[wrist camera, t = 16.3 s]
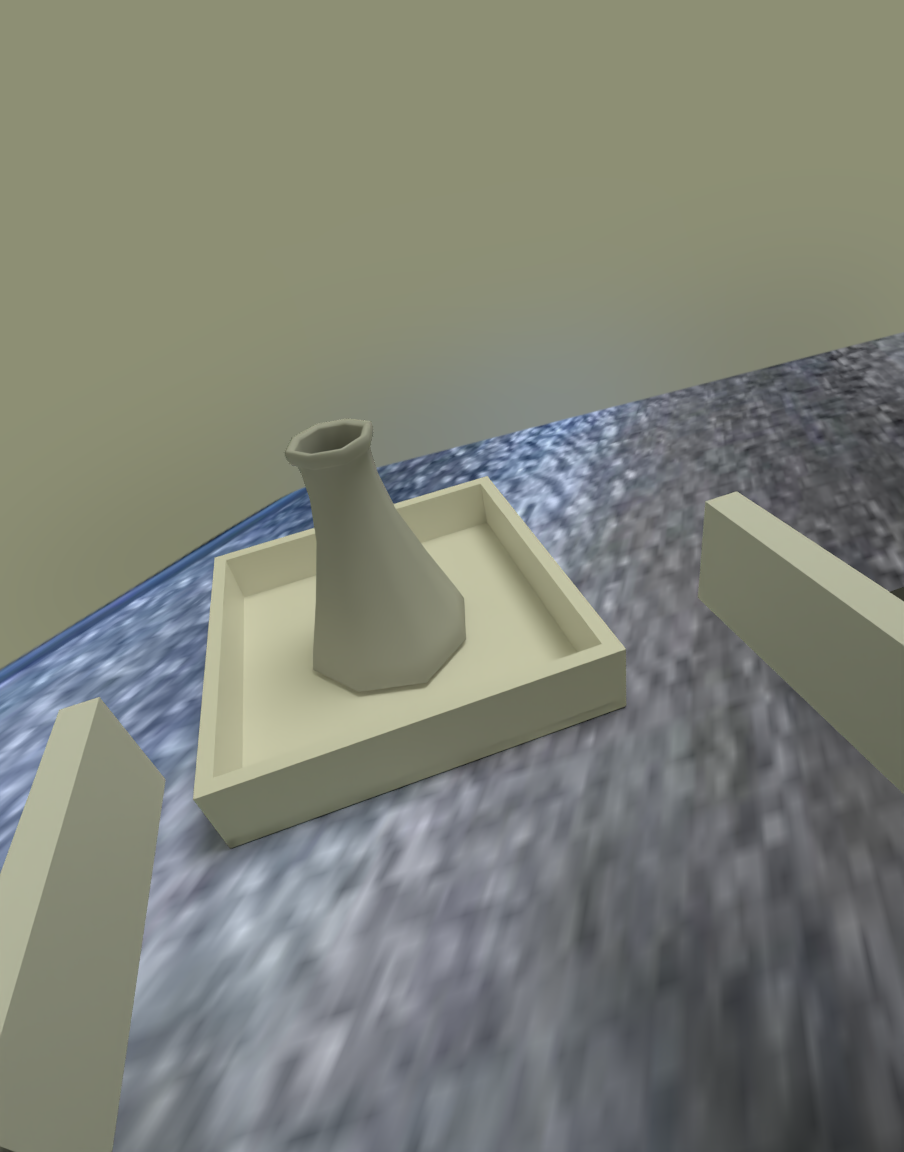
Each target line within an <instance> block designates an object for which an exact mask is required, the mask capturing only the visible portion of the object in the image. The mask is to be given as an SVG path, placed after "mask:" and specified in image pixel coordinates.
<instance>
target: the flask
mask: <svg viewBox="0 0 904 1152" xmlns="http://www.w3.org/2000/svg"><path fill="white" fill-rule="evenodd" d="M372 436H373V426H372V423H371V421H364V420H356V419H349V418H346V419H341V420H335V421H330V422H324V423H319V424H315V425H313V426H312V427H310V428H308V429H306V430H305V431H303V432H301V433H299V434H298V435H296V436H294V437H293V438H291V440H290V442H289V444H288V446H287V448H286V450H285V456H286V459H287V460H288V462H289V463H290V464H291V465H292V466H296V467H298V469H299V471H300V473H301V475H302V477H303V480H304V483H305V486H306V489H307V492H308V495H309V498H310V503H311V509H312V516H313V522H314V528H315V535H316V541H317V544H316V607H315V626H314V644H313V670H315V671H317V672H319V673H321V674H323V675H325V676H327V677H329V678H331V679H333V680H336V681H338V682H340V683H342V684H344V685H346V686H348V687H350V688H352V689H354V690H356V691H358V692H361V691H369V690H376V689H383V688H391V687H398V686H406V685H413V684H421V683H427V682H428V680H429V679H430V678H431V677H432V676H433V675H434V674H435V673H436V672H437V670H438V669H439V668H440V667H441V666H442V665H443V664H444V663H445V662H446V661H447V659H448V658H449V657H450V656H451V655H452V654H453V653H454V652H455V651H456V650H457V648H458V647H459V646H460V645H461V644H462V643H463V642H464V641H465V640H466V627H465V605H464V597H463V596H462V595H461V593H460V592H459V591H458V589H457V588H456V587H455V585H454V584H453V583H452V582H451V580H450V579H449V578H448V577H447V575H446V574H445V573H444V572H443V570H442V569H441V568H440V567H439V566H438V564H437V563H436V562H435V561H434V559H433V558H432V557H431V556H430V554H429V553H428V552H427V551H426V549H425V548H424V547H423V545H422V544H421V543H420V541H419V540H418V538H417V537H416V536H415V534H414V533H413V532H412V530H411V529H410V528H409V526H408V525H407V524H406V522H405V521H404V520H403V518H402V517H401V515H400V514H399V513H398V511H397V510H396V508H395V506H394V504H393V502H392V500H391V498H390V496H389V494H388V492H387V491H386V489H385V487H384V485H383V483H382V481H381V479H380V477H379V475H378V472H377V469H376V466H375V462H374V459H373V456H372V452H371V449H370V445H371V440H372Z"/></svg>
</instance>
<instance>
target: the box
mask: <svg viewBox="0 0 904 1152" xmlns="http://www.w3.org/2000/svg"><path fill="white" fill-rule="evenodd" d="M394 506H395V508H396V510H397V511H398V513H399V514H400V515H401V517H402V518H403V520H404V521H405V522H406V524H407V525H408V526H409V528H410V529H411V530H412V532H413V533H414V534H415V536H416V537H417V538H418V540H419V541H420V543H421V544H422V545H423V547H424V548H425V549H426V551H427V552H428V553H429V554H430V556H431V557H432V558H433V559H434V561H435V562H436V563H437V564H438V566H439V567H440V568H441V569H442V570H443V572H444V573H445V574H446V575H447V577H448V578H449V579H450V580H451V582H452V583H453V584H454V585H455V587H456V588H457V589H458V591H459V592H460V593H461V595H462V596H463V597H464V605H465V627H466V640H465V641H464V642H463V643H462V644H461V645H460V646H459V647H458V648H457V650H456V651H455V652H454V653H453V654H452V655H451V656H450V657H449V658H448V659H447V661H446V662H445V663H444V664H443V665H442V666H441V667H440V668H439V669H438V670H437V672H436V673H435V674H434V675H433V676H432V677H431V678H430V679H429V680H428V682H427V683H421V684H413V685H406V686H398V687H391V688H383V689H376V690H369V691H361V692H358V691H356V690H354V689H352V688H350V687H348V686H346V685H344V684H342V683H340V682H338V681H336V680H333V679H331V678H329V677H327V676H325V675H323V674H321V673H319V672H317V671H315V670H313V644H314V626H315V607H316V544H317V541H316V535H315V528H313V529H309V530H306V531H303V532H299V533H296V534H293V535H289V536H286V537H283V538H279V539H276V540H273V541H269V542H266V543H263V544H259V545H256V546H253V547H249V548H246V549H243V550H239V551H236V552H233V553H229V554H226V555H222V556H219V557H216V558H215V562H214V573H213V584H212V595H211V606H210V618H209V629H208V640H207V651H206V662H205V673H204V685H203V696H202V707H201V718H200V729H199V740H198V752H197V763H196V774H195V785H194V796H193V800H194V801H195V803H196V804H197V805H198V806H199V808H200V809H201V810H202V812H203V813H204V814H205V816H206V817H207V818H208V820H209V821H210V822H211V824H212V825H213V826H214V828H215V829H216V830H217V832H218V833H219V834H220V836H221V837H222V838H223V840H224V841H225V842H226V844H227V845H228V846H229V848H233V847H236V846H239V845H241V844H244V843H247V842H250V841H252V840H255V839H258V838H261V837H264V836H266V835H269V834H272V833H275V832H278V831H280V830H283V829H286V828H289V827H291V826H294V825H297V824H300V823H303V822H305V821H308V820H311V819H314V818H316V817H319V816H322V815H325V814H328V813H330V812H333V811H336V810H339V809H341V808H344V807H347V806H350V805H353V804H355V803H358V802H361V801H364V800H366V799H369V798H372V797H375V796H378V795H380V794H383V793H386V792H389V791H391V790H394V789H397V788H400V787H403V786H405V785H408V784H411V783H414V782H416V781H419V780H422V779H425V778H428V777H430V776H433V775H436V774H439V773H441V772H444V771H447V770H450V769H453V768H455V767H458V766H461V765H464V764H466V763H469V762H472V761H475V760H478V759H480V758H483V757H486V756H489V755H491V754H494V753H497V752H500V751H503V750H505V749H508V748H511V747H514V746H516V745H519V744H522V743H525V742H528V741H530V740H533V739H536V738H539V737H541V736H544V735H547V734H550V733H553V732H555V731H558V730H561V729H564V728H566V727H569V726H572V725H575V724H578V723H580V722H583V721H586V720H589V719H591V718H594V717H597V716H600V715H603V714H605V713H608V712H611V711H614V710H616V709H619V708H622V707H625V706H626V649H625V648H624V646H623V645H622V644H621V643H620V641H619V640H618V639H617V638H616V636H615V635H614V634H613V633H612V631H611V630H610V629H609V628H608V626H607V625H606V624H605V623H604V621H603V620H602V619H601V618H600V616H599V615H598V614H597V613H596V611H595V610H594V609H593V608H592V606H591V605H590V604H589V603H588V601H587V600H586V599H585V598H584V596H583V595H582V594H581V593H580V591H579V590H578V589H577V588H576V586H575V585H574V584H573V583H572V581H571V580H570V579H569V578H568V576H567V575H566V574H565V573H564V571H563V570H562V569H561V568H560V566H559V565H558V564H557V563H556V561H555V560H554V559H553V558H552V556H551V555H550V554H549V553H548V551H547V550H546V549H545V548H544V546H543V545H542V544H541V543H540V541H539V540H538V539H537V538H536V536H535V535H534V534H533V533H532V531H531V530H530V529H529V528H528V526H527V525H526V524H525V523H524V521H523V520H522V519H521V518H520V516H519V515H518V514H517V513H516V511H515V510H514V509H513V508H512V506H511V505H510V504H509V503H508V501H507V500H506V499H505V498H504V497H503V495H502V494H501V493H500V492H499V490H498V489H497V488H496V487H495V485H494V484H493V483H492V482H491V480H490V479H489V478H488V477H487V476H486V477H483V478H480V479H476V480H473V481H470V482H466V483H463V484H460V485H456V486H453V487H450V488H446V489H443V490H440V491H436V492H433V493H430V494H426V495H423V496H420V497H416V498H413V499H410V500H406V501H403V502H399V503H396V504H394Z"/></svg>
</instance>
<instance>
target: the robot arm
mask: <svg viewBox="0 0 904 1152" xmlns="http://www.w3.org/2000/svg"><path fill="white" fill-rule="evenodd" d="M698 598H699V599H700V600H701V601H702V602H703V603H704V604H705V605H706V606H707V607H708V608H709V609H710V610H711V611H712V612H713V613H714V614H715V615H717V616H718V617H719V618H720V619H721V620H722V621H723V622H724V623H725V624H726V625H727V626H728V627H729V628H730V629H731V630H732V631H733V632H734V633H735V634H736V635H737V636H739V637H740V638H741V639H742V640H743V641H744V642H745V643H746V644H747V645H748V646H749V647H750V648H751V649H752V650H753V651H754V652H755V653H756V654H757V655H758V656H759V657H761V658H762V659H763V660H764V661H765V662H766V663H767V664H768V665H769V666H770V667H771V668H772V669H773V670H774V671H775V672H776V673H777V674H778V675H779V676H780V677H781V678H783V679H784V680H785V681H786V682H787V683H788V684H789V685H790V686H791V687H792V688H793V689H794V690H795V691H796V692H797V693H798V694H799V695H800V696H801V697H802V698H803V699H805V700H806V701H807V702H808V703H809V704H810V705H811V706H812V707H813V708H814V709H815V710H816V711H817V712H818V713H819V714H820V715H821V716H822V717H823V718H824V719H825V720H827V721H828V722H829V723H830V724H831V725H832V726H833V727H834V728H835V729H836V730H837V731H838V732H839V733H840V734H841V735H842V736H843V737H844V738H845V739H846V740H847V741H849V742H850V743H851V744H852V745H853V746H854V747H855V748H856V749H857V750H858V751H859V752H860V753H861V754H862V755H863V756H864V757H865V758H866V759H867V760H868V761H869V762H871V763H872V764H873V765H874V766H875V767H876V768H877V769H878V770H879V771H880V772H881V773H882V774H883V775H884V776H885V777H886V778H887V779H888V780H889V781H890V782H891V783H892V784H894V785H895V786H896V787H897V788H898V789H899V790H900V791H901V792H902V793H903V794H904V587H902V588H899V589H897V590H894V591H891V592H889V591H887V590H886V589H884V588H882V587H881V586H879V585H878V584H876V583H875V582H873V581H872V580H870V579H869V578H867V577H866V576H864V575H863V574H861V573H860V572H858V571H857V570H855V569H854V568H852V567H851V566H849V565H848V564H846V563H845V562H843V561H841V560H840V559H838V558H837V557H835V556H834V555H832V554H831V553H829V552H828V551H826V550H825V549H823V548H822V547H820V546H819V545H817V544H816V543H814V542H813V541H811V540H810V539H808V538H807V537H805V536H804V535H802V534H801V533H799V532H797V531H796V530H794V529H793V528H791V527H790V526H788V525H787V524H785V523H784V522H782V521H781V520H779V519H778V518H776V517H775V516H773V515H772V514H770V513H769V512H767V511H766V510H764V509H763V508H761V507H760V506H758V505H756V504H755V503H753V502H752V501H750V500H749V499H747V498H746V497H744V496H743V495H741V494H740V493H738V492H734V493H731V494H727V495H724V496H721V497H718V498H715V499H712V500H709V501H706V502H705V514H704V527H703V539H702V552H701V565H700V577H699V590H698ZM164 787H165V778H164V777H163V776H162V775H161V773H160V772H159V771H158V770H157V768H156V767H155V766H154V765H153V763H152V762H151V761H150V760H149V758H148V757H147V756H146V755H145V753H144V752H143V751H142V750H141V748H140V747H139V746H138V745H137V743H136V742H135V741H134V740H133V738H132V737H131V736H130V735H129V733H128V732H127V731H126V730H125V728H124V727H123V726H122V725H121V723H120V722H119V721H118V720H117V718H116V717H115V716H114V715H113V713H112V712H111V711H110V710H109V708H108V707H107V706H106V705H105V703H104V702H103V701H102V700H101V698H100V697H98V698H95V699H92V700H89V701H86V702H83V703H80V704H77V705H73V706H70V707H67V708H64V709H61V710H59V712H58V715H57V718H56V721H55V724H54V726H53V729H52V732H51V735H50V737H49V740H48V743H47V746H46V749H45V751H44V754H43V757H42V760H41V762H40V765H39V768H38V771H37V774H36V776H35V779H34V782H33V785H32V787H31V790H30V793H29V796H28V799H27V801H26V804H25V807H24V810H23V812H22V815H21V818H20V821H19V824H18V826H17V829H16V832H15V835H14V838H13V840H12V843H11V846H10V849H9V851H8V854H7V857H6V860H5V863H4V865H3V868H2V871H1V874H0V1152H112V1149H113V1142H114V1135H115V1128H116V1121H117V1114H118V1107H119V1100H120V1093H121V1086H122V1079H123V1072H124V1065H125V1058H126V1051H127V1044H128V1037H129V1030H130V1023H131V1017H132V1010H133V1003H134V996H135V989H136V982H137V975H138V968H139V961H140V954H141V947H142V940H143V933H144V926H145V919H146V912H147V905H148V898H149V891H150V884H151V877H152V870H153V863H154V856H155V849H156V842H157V835H158V829H159V822H160V815H161V808H162V801H163V794H164Z"/></svg>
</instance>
